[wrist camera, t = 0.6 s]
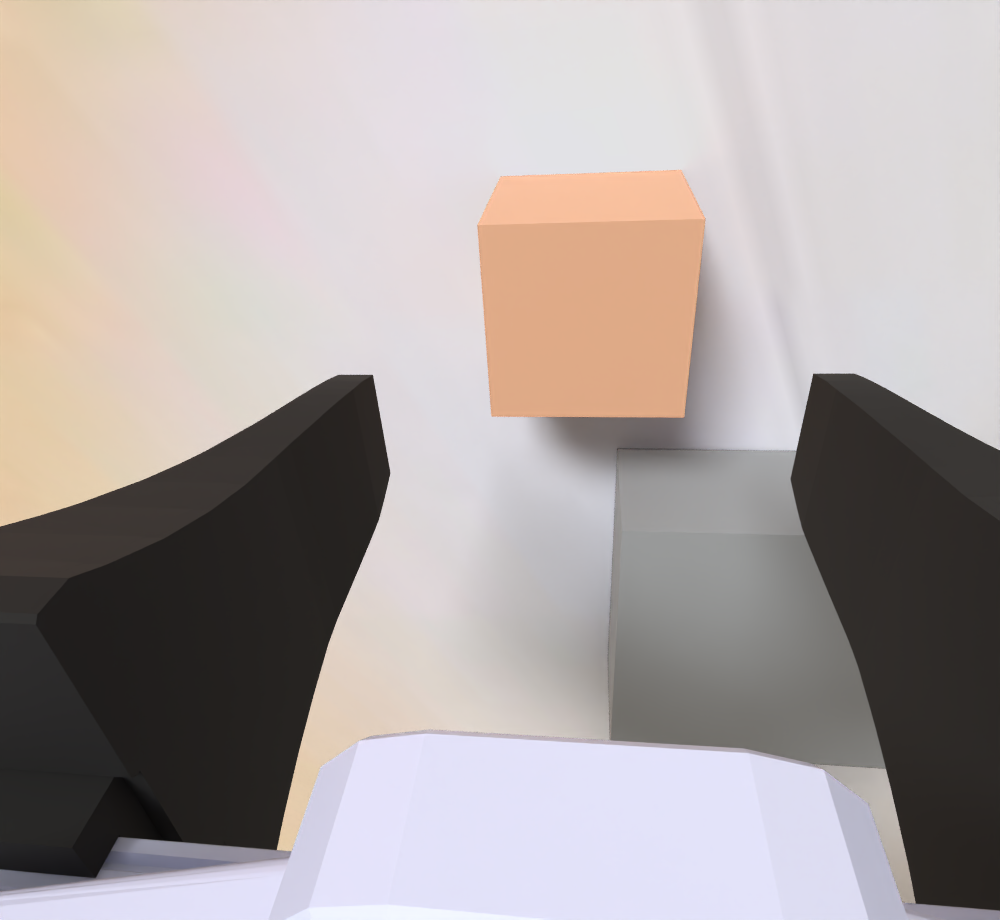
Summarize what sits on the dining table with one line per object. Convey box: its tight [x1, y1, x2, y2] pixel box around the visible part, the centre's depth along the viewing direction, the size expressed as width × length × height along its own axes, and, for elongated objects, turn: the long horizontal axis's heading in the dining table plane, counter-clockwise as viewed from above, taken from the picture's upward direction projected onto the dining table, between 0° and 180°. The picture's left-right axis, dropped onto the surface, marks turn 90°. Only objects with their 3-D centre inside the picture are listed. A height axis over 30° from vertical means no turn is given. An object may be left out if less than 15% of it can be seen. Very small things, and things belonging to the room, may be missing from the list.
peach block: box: [477, 170, 705, 418], centre depth 17 cm, size 4×4×4 cm
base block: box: [608, 449, 886, 769], centre depth 22 cm, size 10×10×4 cm
